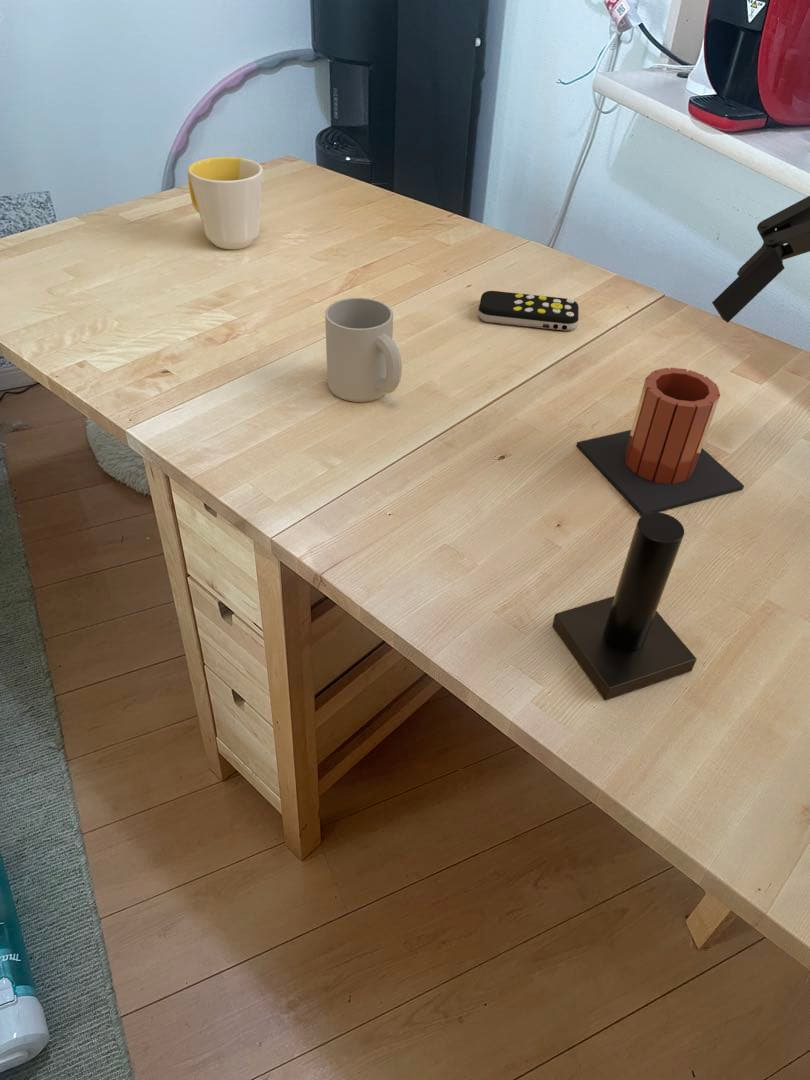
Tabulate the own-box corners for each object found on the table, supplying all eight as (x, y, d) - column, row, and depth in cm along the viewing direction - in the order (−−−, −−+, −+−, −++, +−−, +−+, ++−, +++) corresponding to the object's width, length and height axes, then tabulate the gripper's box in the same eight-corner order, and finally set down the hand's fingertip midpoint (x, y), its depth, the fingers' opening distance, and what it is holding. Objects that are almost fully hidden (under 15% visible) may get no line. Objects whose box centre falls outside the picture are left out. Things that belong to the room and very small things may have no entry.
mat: (743, 489, 80) (744, 485, 80) (641, 516, 77) (643, 512, 77) (670, 424, 89) (671, 420, 88) (576, 445, 85) (576, 442, 85)
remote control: (481, 301, 108) (482, 286, 107) (576, 311, 107) (579, 297, 106) (476, 322, 104) (478, 308, 103) (576, 333, 103) (579, 319, 101)
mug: (280, 247, 119) (275, 172, 112) (216, 262, 114) (206, 185, 107) (239, 216, 127) (231, 144, 120) (177, 228, 122) (165, 155, 115)
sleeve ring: (707, 475, 81) (735, 398, 75) (650, 490, 79) (674, 412, 73) (666, 437, 86) (689, 362, 80) (612, 450, 84) (631, 374, 78)
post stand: (692, 671, 63) (745, 550, 55) (605, 700, 61) (646, 579, 52) (633, 600, 69) (673, 480, 60) (551, 625, 66) (580, 504, 57)
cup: (361, 362, 96) (362, 291, 90) (421, 398, 91) (425, 325, 84) (314, 383, 92) (310, 311, 86) (373, 422, 87) (374, 347, 81)
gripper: (1146, 236, 58) (895, 449, 63) (875, 133, 74) (696, 308, 80) (1146, 164, 52) (874, 403, 58) (855, 70, 69) (665, 262, 75)
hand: (770, 348), depth 69 cm, fingers open, 13 cm apart
